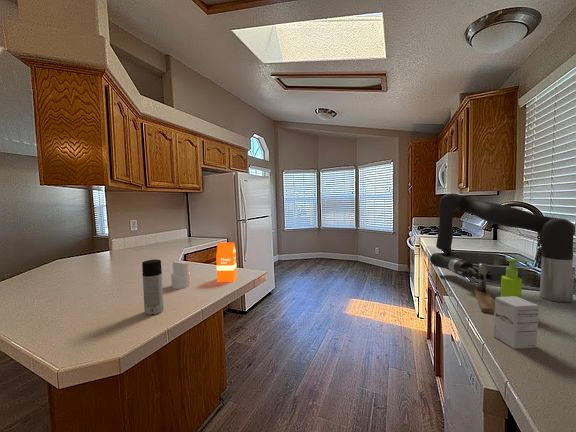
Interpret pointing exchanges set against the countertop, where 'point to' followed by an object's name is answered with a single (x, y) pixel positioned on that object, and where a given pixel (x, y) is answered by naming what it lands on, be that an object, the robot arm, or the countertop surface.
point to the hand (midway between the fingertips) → (487, 277)
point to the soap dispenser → (511, 280)
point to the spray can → (152, 286)
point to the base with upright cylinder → (484, 292)
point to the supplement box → (516, 322)
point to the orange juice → (226, 262)
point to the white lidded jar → (181, 275)
